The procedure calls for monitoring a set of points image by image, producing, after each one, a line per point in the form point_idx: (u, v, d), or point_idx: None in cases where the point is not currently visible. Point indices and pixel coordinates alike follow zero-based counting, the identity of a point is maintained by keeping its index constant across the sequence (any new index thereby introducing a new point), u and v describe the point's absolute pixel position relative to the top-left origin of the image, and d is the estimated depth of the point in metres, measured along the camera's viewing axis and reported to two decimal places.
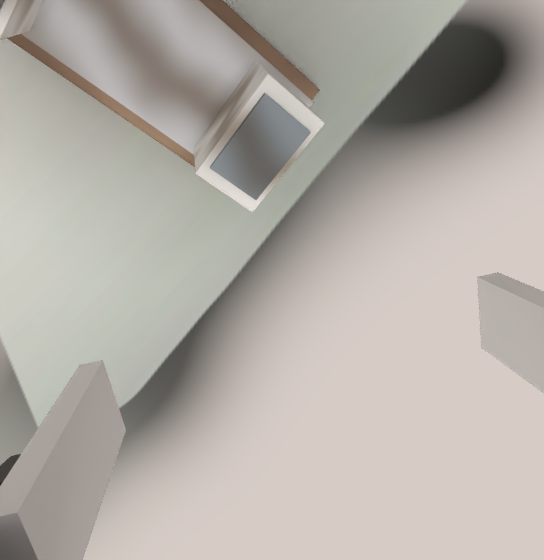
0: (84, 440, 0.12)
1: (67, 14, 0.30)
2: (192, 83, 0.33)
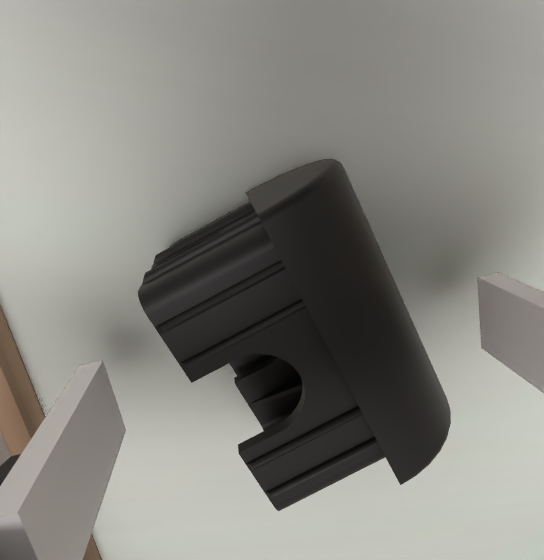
0: (84, 440, 0.12)
1: None
2: None
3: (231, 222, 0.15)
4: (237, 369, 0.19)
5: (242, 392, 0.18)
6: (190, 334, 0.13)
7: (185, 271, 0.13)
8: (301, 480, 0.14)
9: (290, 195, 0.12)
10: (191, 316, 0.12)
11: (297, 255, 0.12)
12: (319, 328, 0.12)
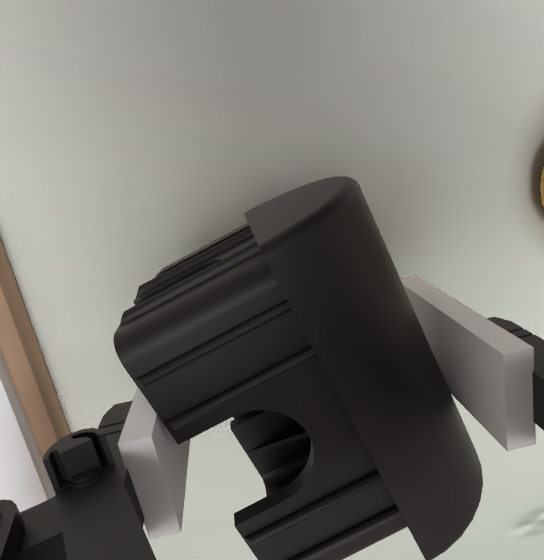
0: None
1: None
2: None
3: (227, 248, 0.13)
4: None
5: (239, 439, 0.16)
6: (176, 388, 0.11)
7: (171, 312, 0.10)
8: (309, 557, 0.12)
9: (298, 222, 0.10)
10: (177, 367, 0.10)
11: (307, 295, 0.10)
12: (333, 382, 0.10)
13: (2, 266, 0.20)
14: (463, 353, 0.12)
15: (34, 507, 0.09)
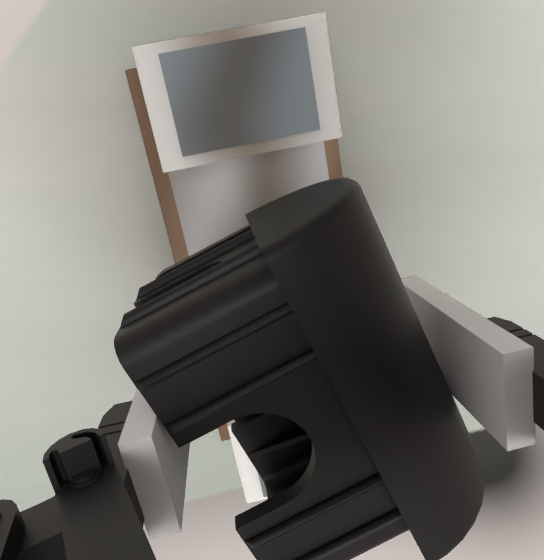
0: None
1: (223, 185, 0.26)
2: None
3: (228, 250, 0.13)
4: None
5: (240, 441, 0.16)
6: (177, 391, 0.11)
7: (171, 314, 0.10)
8: None
9: (300, 224, 0.10)
10: (178, 370, 0.10)
11: (308, 298, 0.10)
12: (334, 385, 0.10)
13: None
14: (463, 353, 0.12)
15: (34, 506, 0.09)
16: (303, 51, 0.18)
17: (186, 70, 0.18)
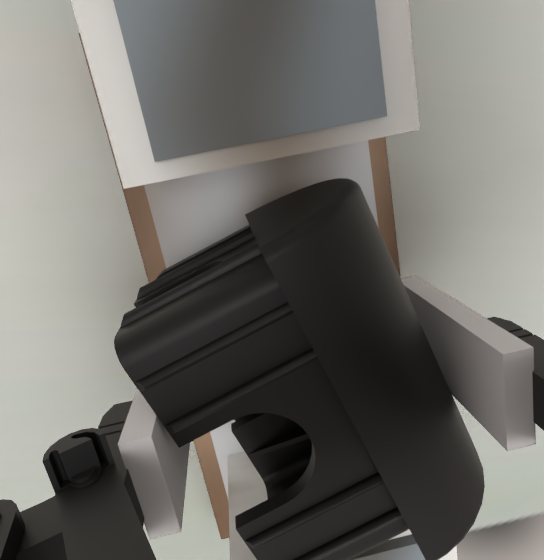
0: None
1: (224, 201, 0.18)
2: None
3: (228, 250, 0.13)
4: None
5: (240, 441, 0.16)
6: (177, 391, 0.11)
7: (171, 315, 0.10)
8: None
9: (300, 224, 0.10)
10: (178, 370, 0.10)
11: (308, 298, 0.10)
12: (334, 385, 0.10)
13: None
14: (463, 353, 0.12)
15: (34, 506, 0.09)
16: None
17: (159, 10, 0.10)
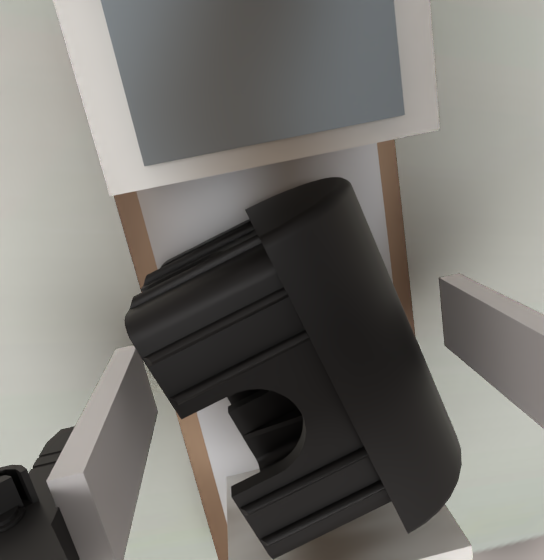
0: (127, 415, 0.13)
1: (222, 207, 0.17)
2: None
3: (229, 241, 0.14)
4: (231, 397, 0.18)
5: (236, 422, 0.17)
6: (181, 366, 0.12)
7: (177, 296, 0.11)
8: (299, 527, 0.13)
9: (296, 217, 0.11)
10: (183, 347, 0.11)
11: (302, 283, 0.11)
12: (324, 363, 0.11)
13: None
14: (524, 354, 0.12)
15: None
16: None
17: None
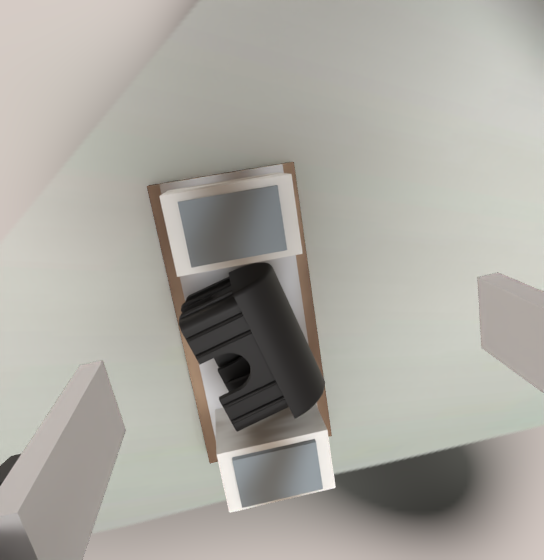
0: (84, 440, 0.12)
1: (217, 270, 0.34)
2: None
3: (220, 289, 0.32)
4: (219, 364, 0.35)
5: (221, 376, 0.35)
6: (200, 342, 0.29)
7: (200, 315, 0.29)
8: (248, 414, 0.31)
9: (246, 285, 0.28)
10: (202, 334, 0.29)
11: (248, 311, 0.28)
12: (257, 342, 0.29)
13: None
14: None
15: None
16: (276, 200, 0.27)
17: (196, 212, 0.27)
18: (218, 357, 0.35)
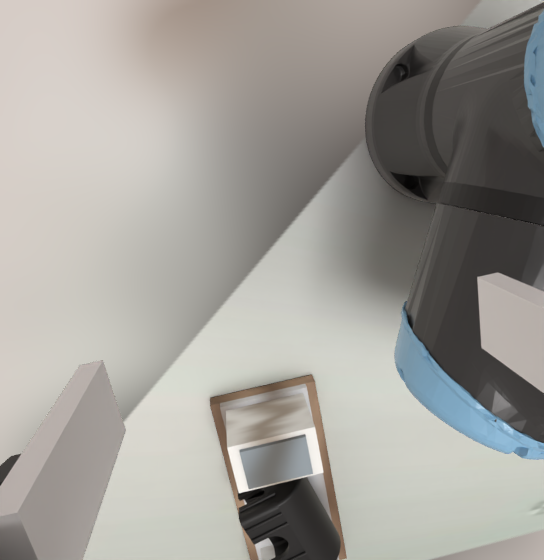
0: (84, 440, 0.12)
1: None
2: None
3: None
4: None
5: None
6: (254, 531, 0.42)
7: (254, 513, 0.42)
8: None
9: (285, 496, 0.41)
10: (255, 527, 0.42)
11: (287, 513, 0.41)
12: (293, 531, 0.42)
13: None
14: None
15: None
16: (305, 445, 0.40)
17: (251, 457, 0.40)
18: None
